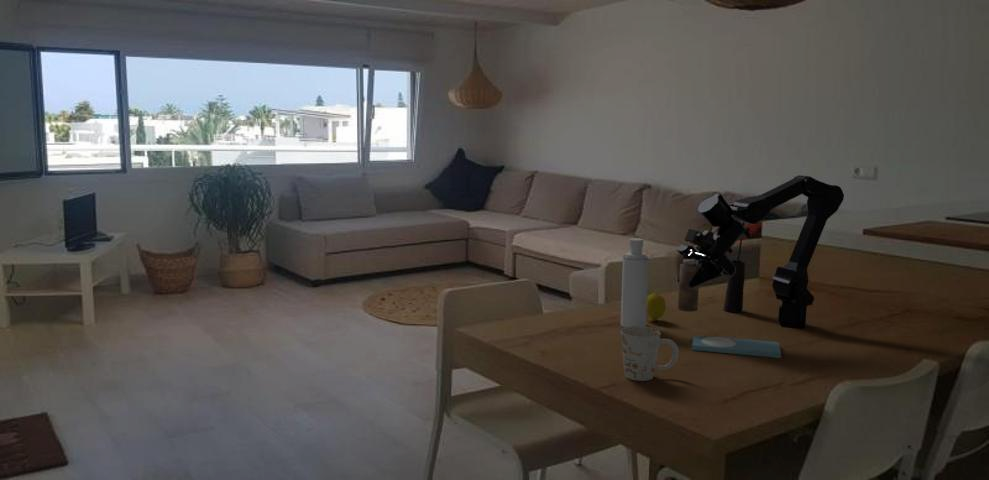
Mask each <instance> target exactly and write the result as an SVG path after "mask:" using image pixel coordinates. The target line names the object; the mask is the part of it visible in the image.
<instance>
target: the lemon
mask: <svg viewBox="0 0 989 480" xmlns="http://www.w3.org/2000/svg"><path fill="white" fill-rule="evenodd" d="M665 313H666V301H665V297H663V295H661V294H660V293H658V292H657V291H655V292H653V293H650V294H649V295H647V312H646V316H648V317H649V318H650V319H652V320H653V321H655V322H656V321H657V320H658V319H660V318H662V317H663V316H664V314H665Z"/></svg>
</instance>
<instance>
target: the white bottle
mask: <svg viewBox="0 0 989 480" xmlns="http://www.w3.org/2000/svg"><path fill="white" fill-rule="evenodd" d="M628 243H629V244H628V245H629V252H626V253H625V254H624V255H623V256H622V271H621V272H622V273H621V274H622V276H621V303H620V304H621V306H620V326H621V327H623V328H625V327H630V326H644V327H647V314H646V312H647V297H648V288H649V287H648V285H649V283H648V282H649V260H650V259H649V257H650V256H647V254H646V253H644V252H643V247H644V239H643V238H637V237H635V238H629V242H628Z"/></svg>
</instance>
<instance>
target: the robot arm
mask: <svg viewBox="0 0 989 480" xmlns="http://www.w3.org/2000/svg"><path fill="white" fill-rule="evenodd" d="M801 195H802V196H804V197H806V198H807V200H806V206H807V207H806V208H807V216H806V218H805V221H804V223H803V225H802V228H801V231H800V234H799V235H798V238H797V241H796V242H795V245H794V248H793V251H792V252H791V254H790V255H791V256H790V258H789V260H788V262H787V263H786V264H785V265H784V266H781V265H778V266H777V267H776V270H775V274H774V276H773V277H772V278H771V280H772V284H771V287H772V288H773V291H774V293H775V297H776V299H777V300H779V301H780V302H781V303H780V304H779V305H778V312H777V321H778V323H779V325H780V327H781V326H782V327H790V328H792V327H793V328H804V329H806V328H808V327H807V311H808V310H807V309H808V306H812V305H813V303H814V301H815V296H814V295H813V294H812V293H811V292H810V291H809V289H808V283H809V282H810V281H809V274H808V268H809V265H810V262H811V261H812V258H813V256H814V253H815V250H816V248H817V246H818V243H819V241H820V238H821V236H822V233H823V231H824V229H825V226H826V223H827V222H828V220H829V218H831V217H832V216H833V215H834V214H835V213H836V212H837V211H838V210H839V208H840V206H841V205H842V203H843V201H844V197H845V194H844V192H843V189H842V188H841V186H839V185H835V184H828V183H825V182H823V181H820V180H818V179H816V178H814V177H812V176H808V175H800V174H799V175H795V176H794V177H793V178H792V179H790V180H788V181H786V182H784V183H782V184H779V185H778V186H776V187H774V188H772V189H770V190H768V191H766V192H764V193H761V194H758V195H754V196H747V197H743V198H740V199H737V200H735V201H734V202H733V203H731V204H728V203H727V201H726V200H725V198H724V196H723V195H722V194H721V193H715V194H714V195H713V196H710V197H708V198H706V199H705V200H702V202H700V204H699V205H698V208H697V211H698V212H699V213H700V215H701V216H702V217H703V218H704V219H705V220H706V221H707V223H708V224H709V225H710V226H711V227H712V228H716V227H717V228H716V230H714V232H713V231H710V230H707V229H705V230H704V231H699V230H696V229H692V228H689V229H688V230H687V232H686V235H685V237H684V241H685V242H689V243H691V244H694V245H695V246H693V245H690V244H687V243H686V244H685V243H682V244H680V245H679V246H678V247H677V248H676V251H677V253H679V255H680V256H681V257H682V258H683V260H684V259H694V260H696V264H698V265H699V270H698V272H697V273H696V275H695V276H694V277H693V279H692V280H691V282H690V283H689V286H690V287H691V288H692V287H695V286H697V285H702V284H704V283H706V282H708V281H711V280H714V279H715V278H721V277H723V276H724V277H728V278H729V277H732V276H733V274H734V273H735V272H736V267H735V265H734V264H733V263H732V262H731V261H732V260H730V258H729V257H728V256H727V254H732V253H733V251H734V250H733V249H732V247H733V246H734V245H735V244H736V243H737V242H738V241H739V240H740V238H741V237H743V238H746V239H750V238H751V232H750V229H751V228H750V227H747V226H745V225H744V226H743V222H745V224H751V225H756V224H758V223H760V222H761V221H763V219H765V218H766V217H768V215H769V213H770V212H771V211H772V210H773V209H775V208H777V207H779V206H781V205H784V204H785V203H787V202H789V201H791V200H793V199H795V198H797V197H799V196H801ZM721 273H722V274H723V275H722V274H721ZM676 281H677V282H678V283H679V276H678V278H677V280H676Z"/></svg>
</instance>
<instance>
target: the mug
mask: <svg viewBox="0 0 989 480" xmlns="http://www.w3.org/2000/svg"><path fill="white" fill-rule="evenodd" d="M661 335H662V334H661V331H660V330H659V329H657V328H654V327H650V326H646V327H644V326H630V327H623V328H621V330H620V338H621V339H620V340H621V348H622V349H621V350H622V361H623V371H624V377H625V378H626V379H629V380H631V381H638V382H645V381H650V380H653V378H654V376H655V370H668V369H670V368H671V367H673V366H674V365H675V364H676V362H678V359H679V357H680V356H679V355H680V350H679V347H678V344H677V343H675V341H674V340H672V339H670V338H661ZM660 345H661V346H662V345H666V346H669V347H670V348H671V349H672V357H671V359H670V361H668V363H667V364H665V365H656V363H657V359H658V353H659V347H660Z"/></svg>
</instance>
